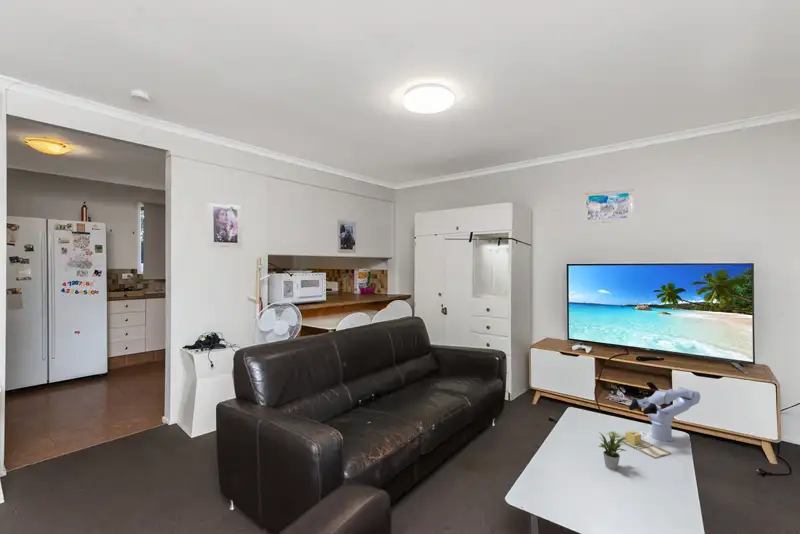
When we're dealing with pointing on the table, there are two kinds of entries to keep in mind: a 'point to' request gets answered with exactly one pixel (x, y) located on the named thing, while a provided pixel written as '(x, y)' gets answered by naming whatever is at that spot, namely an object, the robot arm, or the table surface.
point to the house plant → (611, 451)
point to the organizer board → (643, 447)
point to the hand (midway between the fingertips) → (636, 410)
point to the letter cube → (633, 437)
